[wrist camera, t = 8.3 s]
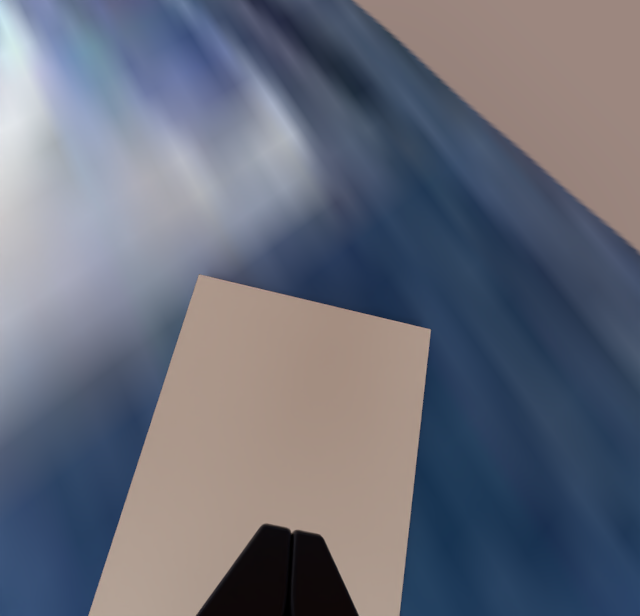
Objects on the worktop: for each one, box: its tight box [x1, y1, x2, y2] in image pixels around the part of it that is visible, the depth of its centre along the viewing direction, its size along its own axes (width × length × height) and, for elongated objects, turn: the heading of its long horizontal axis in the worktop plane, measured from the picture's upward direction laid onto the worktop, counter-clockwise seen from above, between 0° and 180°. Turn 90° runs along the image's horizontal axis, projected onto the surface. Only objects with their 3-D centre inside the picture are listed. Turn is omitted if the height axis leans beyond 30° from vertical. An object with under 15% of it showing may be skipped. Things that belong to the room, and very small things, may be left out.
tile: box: [88, 274, 431, 616], centre depth 15 cm, size 2×7×9 cm
